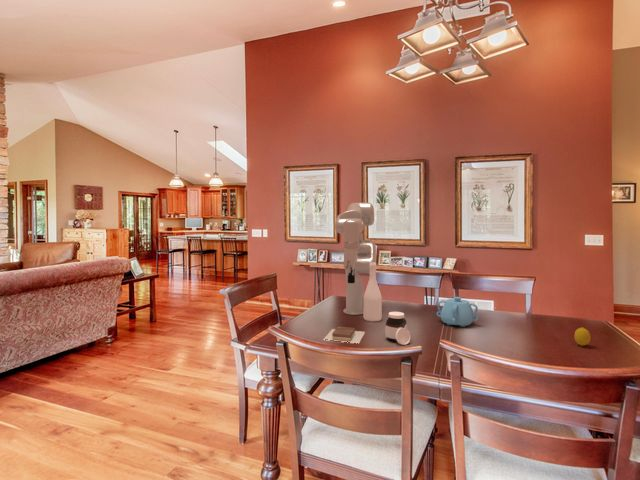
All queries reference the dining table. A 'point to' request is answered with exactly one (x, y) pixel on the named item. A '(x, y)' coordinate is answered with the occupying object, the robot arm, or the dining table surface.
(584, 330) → the lemon
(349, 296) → the robot arm
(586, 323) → the dining table surface
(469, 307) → the decorative pot
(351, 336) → the slab
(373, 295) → the wine bottle
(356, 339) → the mat
